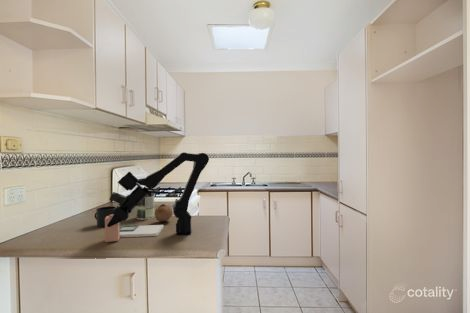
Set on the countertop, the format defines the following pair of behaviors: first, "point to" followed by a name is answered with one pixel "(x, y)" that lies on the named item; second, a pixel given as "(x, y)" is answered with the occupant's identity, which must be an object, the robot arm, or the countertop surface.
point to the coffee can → (146, 208)
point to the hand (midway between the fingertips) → (108, 224)
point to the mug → (103, 214)
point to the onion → (163, 213)
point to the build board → (140, 230)
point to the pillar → (111, 230)
